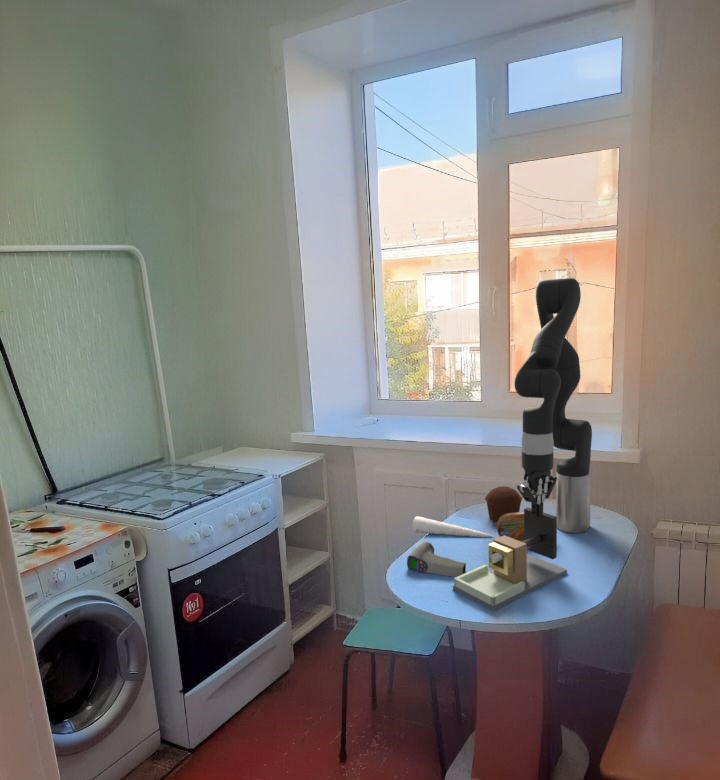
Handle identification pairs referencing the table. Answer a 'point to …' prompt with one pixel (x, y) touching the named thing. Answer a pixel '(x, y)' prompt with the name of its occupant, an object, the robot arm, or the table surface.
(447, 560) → the infrared thermometer
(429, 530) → the unicorn horn
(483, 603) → the shaft rig
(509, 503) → the muffin
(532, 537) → the shaft
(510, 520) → the tin
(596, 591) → the table surface
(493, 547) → the spacer
